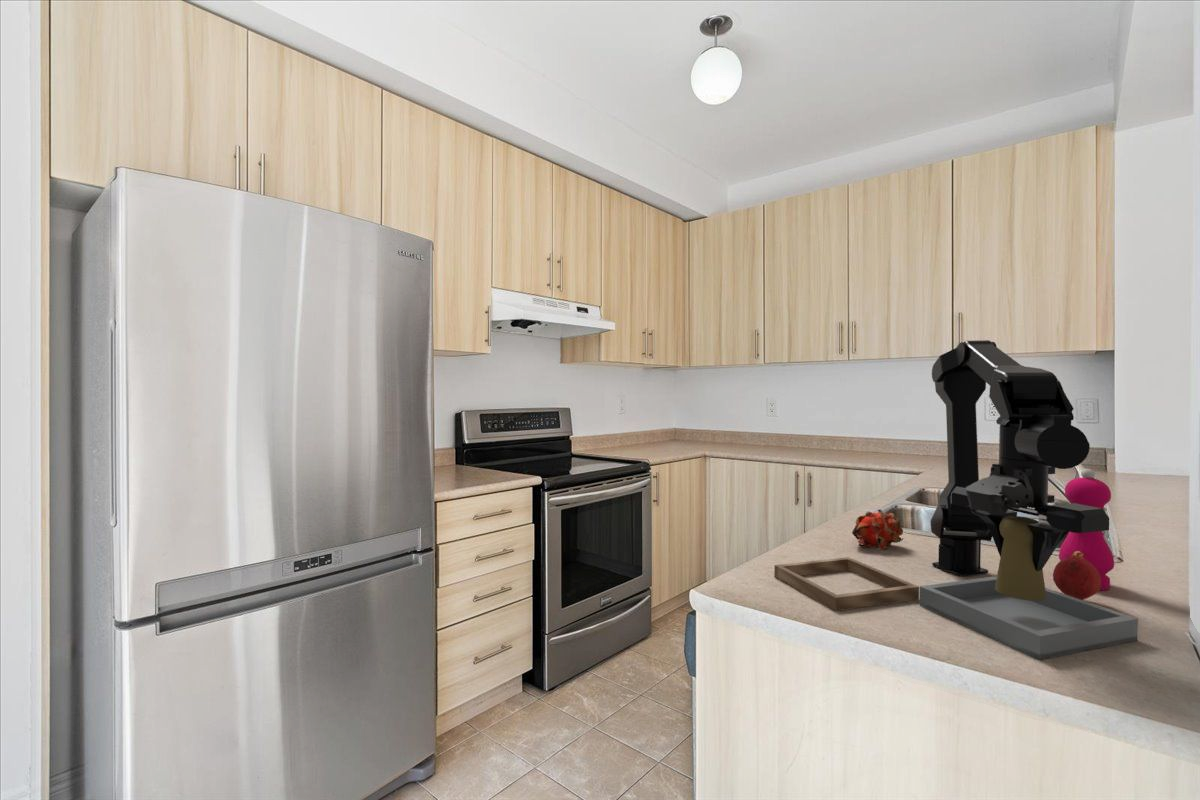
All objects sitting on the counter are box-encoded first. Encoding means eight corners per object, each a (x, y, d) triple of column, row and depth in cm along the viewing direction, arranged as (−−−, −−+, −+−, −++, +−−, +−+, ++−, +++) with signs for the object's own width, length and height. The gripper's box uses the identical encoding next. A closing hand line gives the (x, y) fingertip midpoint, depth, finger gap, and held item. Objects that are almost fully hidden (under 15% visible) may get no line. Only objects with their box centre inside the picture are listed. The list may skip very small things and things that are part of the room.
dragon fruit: (906, 553, 119) (858, 566, 116) (880, 522, 125) (834, 534, 122) (921, 528, 113) (871, 540, 111) (893, 497, 120) (845, 508, 117)
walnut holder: (848, 567, 105) (848, 557, 105) (919, 599, 89) (919, 586, 89) (774, 576, 100) (774, 565, 100) (835, 610, 85) (835, 597, 85)
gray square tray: (1005, 592, 92) (1006, 574, 92) (1137, 640, 75) (1137, 618, 75) (919, 605, 87) (919, 586, 87) (1039, 659, 70) (1040, 636, 70)
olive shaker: (1056, 602, 77) (1058, 523, 77) (1007, 599, 78) (1008, 521, 78) (1031, 586, 83) (1033, 513, 83) (986, 583, 84) (988, 512, 84)
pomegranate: (1089, 611, 84) (1090, 559, 84) (1045, 598, 90) (1046, 549, 89) (1107, 604, 87) (1108, 553, 87) (1063, 592, 92) (1064, 544, 92)
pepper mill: (1118, 595, 91) (1121, 473, 90) (1062, 586, 95) (1064, 469, 94) (1108, 581, 97) (1110, 467, 97) (1055, 574, 101) (1057, 464, 100)
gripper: (924, 452, 87) (922, 551, 87) (1051, 471, 69) (1048, 595, 70) (978, 450, 90) (977, 545, 91) (1113, 466, 72) (1110, 585, 73)
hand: (1020, 565), depth 81 cm, fingers closed on olive shaker, 4 cm apart
